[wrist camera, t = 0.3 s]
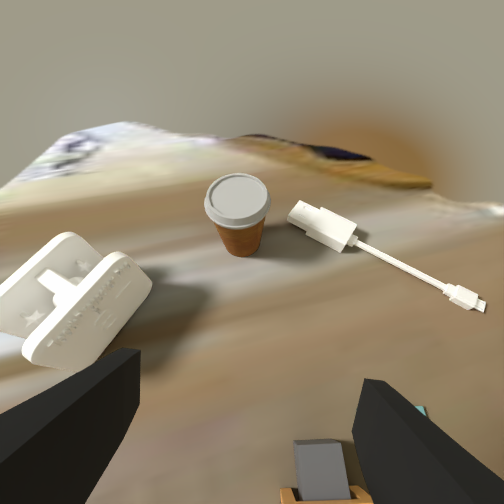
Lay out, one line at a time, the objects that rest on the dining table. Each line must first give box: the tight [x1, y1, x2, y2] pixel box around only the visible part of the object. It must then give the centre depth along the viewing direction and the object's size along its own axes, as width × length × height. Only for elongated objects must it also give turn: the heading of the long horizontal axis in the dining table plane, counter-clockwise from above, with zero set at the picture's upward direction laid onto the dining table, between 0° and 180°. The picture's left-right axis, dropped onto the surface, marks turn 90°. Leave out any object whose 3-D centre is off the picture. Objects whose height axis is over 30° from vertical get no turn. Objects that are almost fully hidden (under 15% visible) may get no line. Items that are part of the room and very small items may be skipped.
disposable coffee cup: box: [204, 173, 271, 257], centre depth 41 cm, size 10×10×12 cm
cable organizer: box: [0, 232, 152, 372], centre depth 35 cm, size 15×11×12 cm
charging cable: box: [287, 200, 486, 312], centre depth 43 cm, size 5×32×3 cm, turn 56°
